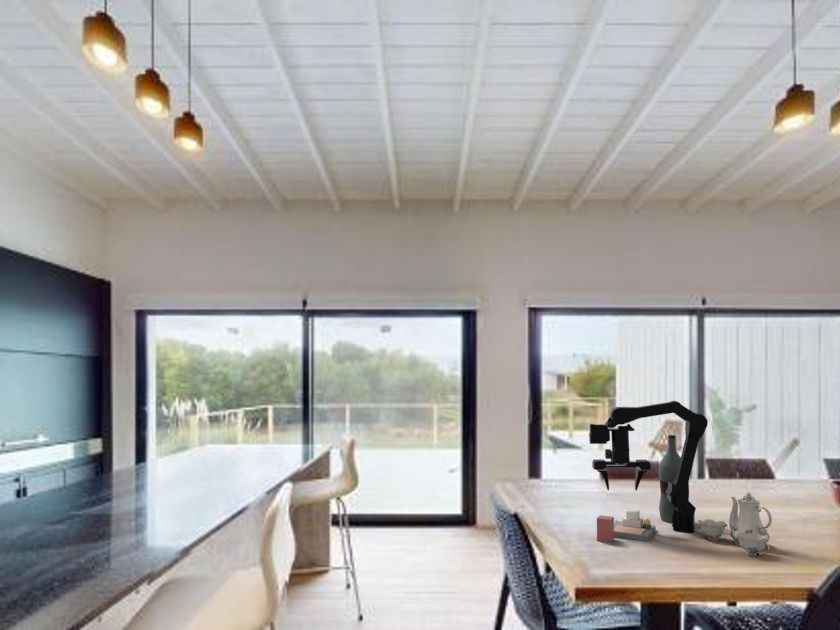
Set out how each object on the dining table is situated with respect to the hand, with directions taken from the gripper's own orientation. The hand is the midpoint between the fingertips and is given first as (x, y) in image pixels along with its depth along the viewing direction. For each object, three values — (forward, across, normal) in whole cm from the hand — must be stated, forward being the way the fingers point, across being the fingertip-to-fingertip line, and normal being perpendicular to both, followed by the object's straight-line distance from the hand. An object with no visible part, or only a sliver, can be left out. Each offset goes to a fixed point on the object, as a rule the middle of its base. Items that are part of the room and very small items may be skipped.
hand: (622, 490), depth 235 cm
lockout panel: (+12, -1, +8) cm, 15 cm away
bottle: (+13, -19, -13) cm, 27 cm away
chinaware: (+14, -32, +18) cm, 40 cm away
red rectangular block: (+12, +8, +18) cm, 23 cm away
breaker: (+9, -2, +5) cm, 10 cm away
